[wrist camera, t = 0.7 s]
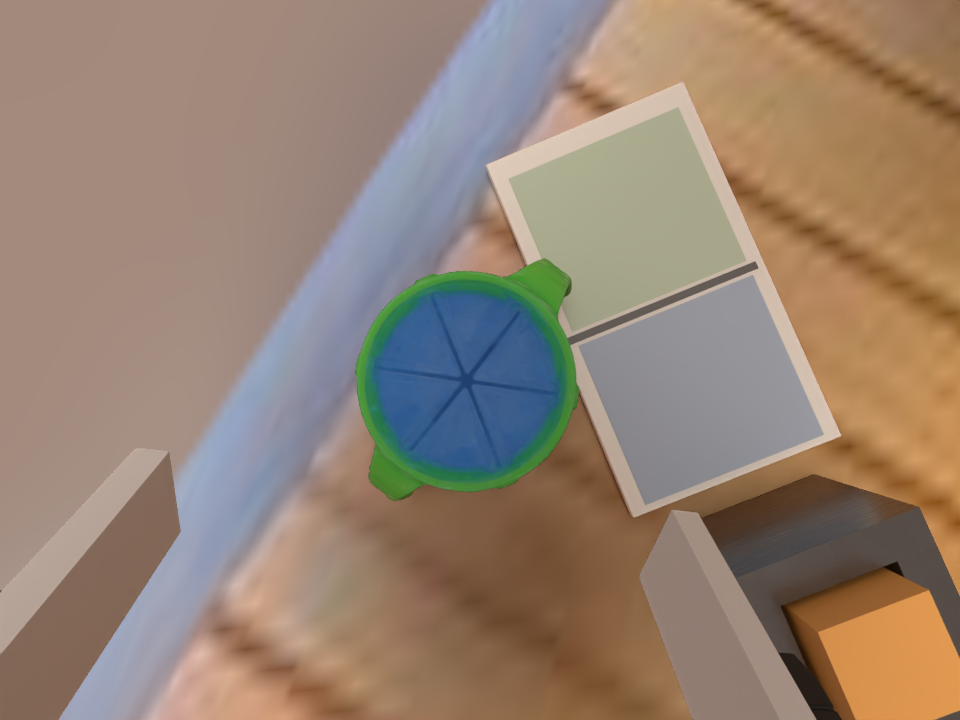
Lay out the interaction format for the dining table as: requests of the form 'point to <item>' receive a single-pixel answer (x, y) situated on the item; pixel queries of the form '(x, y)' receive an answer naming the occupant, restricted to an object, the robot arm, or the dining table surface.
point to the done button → (878, 648)
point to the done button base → (827, 550)
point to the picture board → (663, 301)
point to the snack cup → (467, 380)
